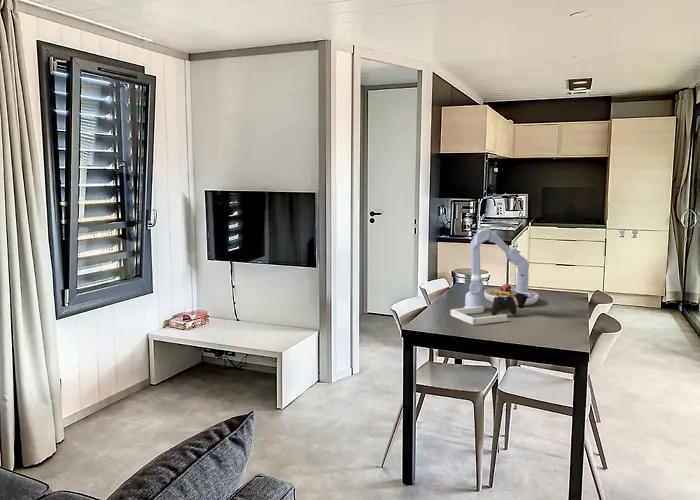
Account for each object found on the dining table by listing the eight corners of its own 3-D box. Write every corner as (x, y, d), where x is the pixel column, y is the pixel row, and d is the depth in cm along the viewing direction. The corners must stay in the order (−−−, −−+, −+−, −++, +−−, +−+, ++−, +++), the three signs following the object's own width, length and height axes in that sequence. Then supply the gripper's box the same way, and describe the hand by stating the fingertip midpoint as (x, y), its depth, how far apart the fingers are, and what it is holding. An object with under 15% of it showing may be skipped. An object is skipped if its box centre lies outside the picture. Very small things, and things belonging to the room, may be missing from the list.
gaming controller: (494, 317, 281) (495, 298, 280) (488, 314, 287) (489, 295, 285) (519, 315, 285) (520, 296, 283) (512, 313, 291) (513, 294, 289)
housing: (450, 315, 285) (450, 309, 284) (482, 311, 293) (482, 306, 292) (473, 324, 267) (473, 318, 266) (506, 320, 274) (507, 315, 274)
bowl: (545, 308, 303) (546, 293, 302) (490, 307, 304) (491, 293, 303) (528, 296, 333) (529, 283, 332) (478, 295, 334) (479, 282, 332)
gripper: (538, 284, 283) (536, 310, 285) (519, 279, 296) (517, 304, 298) (527, 285, 280) (525, 311, 282) (508, 280, 293) (507, 305, 295)
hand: (521, 308), depth 290 cm, fingers closed
